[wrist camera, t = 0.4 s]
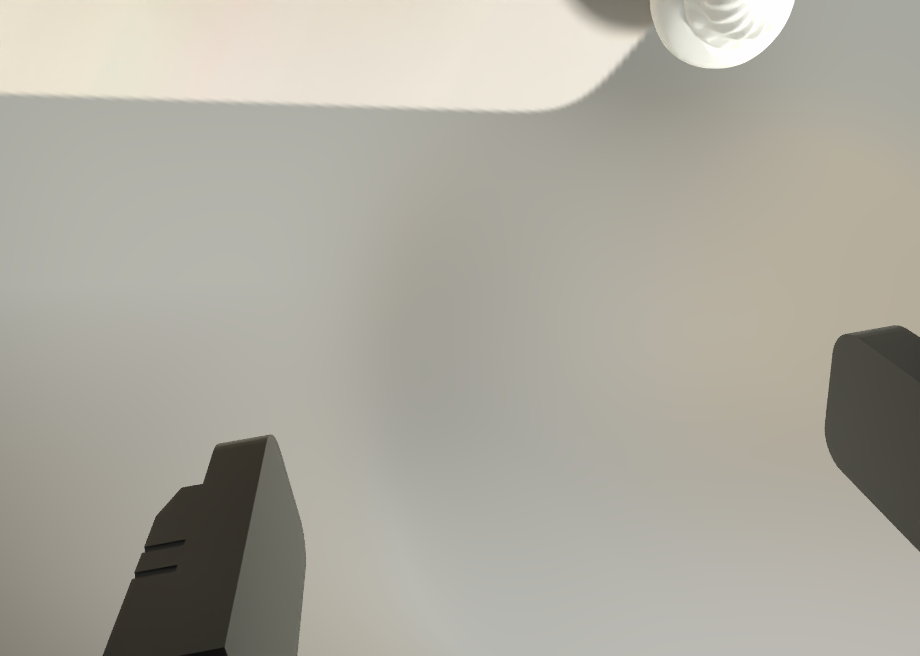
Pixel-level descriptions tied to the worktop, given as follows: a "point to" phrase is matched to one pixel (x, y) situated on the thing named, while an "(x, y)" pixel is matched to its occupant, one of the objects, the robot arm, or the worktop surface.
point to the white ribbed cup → (718, 28)
